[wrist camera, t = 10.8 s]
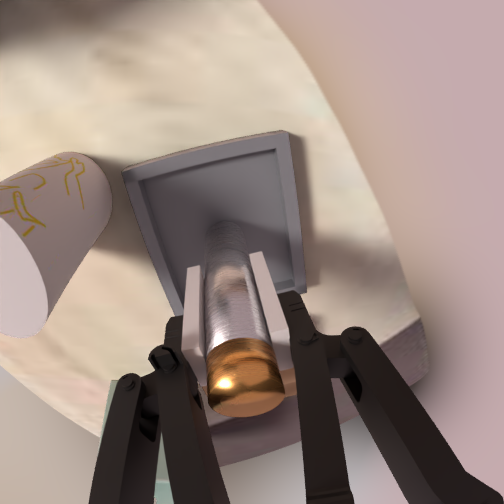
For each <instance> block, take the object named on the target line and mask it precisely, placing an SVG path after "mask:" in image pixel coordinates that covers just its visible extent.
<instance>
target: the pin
mask: <svg viewBox="0 0 504 504" xmlns="http://www.w3.org/2000/svg"><path fill="white" fill-rule="evenodd" d="M205 345H206V373H207V395H208V404H209V406H210V407H211V408H212V409H213V410H214V411H216V412H217V413H219V414H222V415H225V416H230V417H250V416H256V415H260V414H263V413H265V412H268V411H270V410H272V409H273V408H275V407H276V406H278V405H279V404H280V403H281V402H282V400H283V399H284V397H285V389H284V385H283V381H282V378H281V374H280V370H279V366H278V363H277V359H276V355H275V352H274V350H273V346H272V342H271V338H270V334H269V331H268V327H267V323H266V319H265V316H264V312H263V308H262V304H261V300H260V297H259V293H258V289H257V285H256V281H255V278H254V274H253V270H252V265H251V261H250V258H249V254H248V250H247V246H246V242H245V239H244V235H243V232H242V230H241V228H240V227H239V226H238V225H236V224H235V223H233V222H229V221H220V222H217V223H215V224H213V225H212V226H211V227H210V228H209V229H208V230H207V232H206V234H205Z"/></svg>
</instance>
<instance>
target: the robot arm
mask: <svg viewBox="0 0 504 504" xmlns="http://www.w3.org/2000/svg"><path fill="white" fill-rule="evenodd" d="M249 256H250V261H251V265H252V270H253V274H254V278H255V281H256V285H257V289H258V293H259V297H260V300H261V304H262V308H263V312H264V316H265V319H266V323H267V327H268V331H269V334H270V338H271V342H272V346H273V350H274V352H275V355H276V359H277V363H278V366H279V370H280V371H282V370H286V369H290V368H294V370H295V379H296V388H297V398H298V408H299V418H300V429H301V440H302V451H303V462H304V474H305V489H306V504H354V498H353V494H352V492H351V490H350V486H349V480H348V473H347V466H346V460H345V454H344V448H343V442H342V436H341V430H340V424H339V419H338V413H337V408H336V403H335V398H334V392H333V387H332V382H331V378H340V380H341V382H342V384H343V385H344V387H345V389H346V391H347V393H348V394H349V396H350V398H351V400H352V401H353V403H354V405H355V407H356V409H357V410H358V412H359V414H360V416H361V418H362V419H363V421H364V423H365V425H366V427H367V428H368V430H369V432H370V434H371V435H372V437H373V439H374V441H375V443H376V445H377V447H378V448H379V450H380V452H381V454H382V456H383V457H384V459H385V461H386V463H387V465H388V467H389V468H390V470H391V472H392V474H393V476H394V477H395V479H396V481H397V483H398V485H399V487H400V489H401V491H402V492H403V494H404V496H405V498H406V500H407V501H408V503H409V504H504V501H503V497H502V496H501V495H500V494H499V493H498V492H497V491H495V490H494V489H492V488H490V487H489V486H487V485H486V484H484V483H483V482H481V481H480V480H478V479H476V478H475V477H473V476H472V475H470V474H469V473H467V472H466V471H465V470H464V468H463V467H462V465H461V463H460V462H459V460H458V459H457V457H456V456H455V454H454V452H453V451H452V449H451V448H450V446H449V445H448V443H447V442H446V440H445V439H444V437H443V436H442V434H441V433H440V431H439V430H438V428H437V427H436V425H435V424H434V422H433V421H432V420H431V418H430V417H429V415H428V414H427V412H426V411H425V409H424V408H423V407H422V405H421V404H420V402H419V401H418V399H417V398H416V396H415V395H414V393H413V392H412V391H411V389H410V388H409V386H408V385H407V384H406V382H405V381H404V379H403V378H402V377H401V375H400V374H399V372H398V371H397V370H396V368H395V367H394V366H393V364H392V363H391V361H390V360H389V359H388V357H387V356H386V355H385V353H384V352H383V351H382V349H381V348H380V347H379V345H378V344H377V343H376V341H375V340H374V339H373V337H372V336H371V335H370V333H369V332H368V331H367V330H366V329H364V328H361V327H349V328H347V329H345V330H344V331H343V332H342V333H341V335H334V336H331V335H324V334H322V333H320V332H318V331H317V330H316V329H315V327H314V325H313V322H312V320H311V318H310V316H309V313H308V311H307V309H306V307H305V304H304V303H303V300H302V298H301V296H300V294H298V293H297V292H296V291H294V290H291V291H287V292H283V293H279V294H276V291H275V288H274V285H273V282H272V279H271V276H270V273H269V270H268V268H267V265H266V262H265V259H264V256H263V253H262V251H260V252H256V253H252V254H249ZM165 332H166V333H165V339H164V345H160V346H157V347H156V348H154V349H153V350H152V351H151V353H150V354H149V357H148V360H149V361H150V363H151V364H152V366H153V367H154V369H155V371H154V372H152V373H150V374H148V375H145V376H143V377H140V376H138V375H137V374H134V373H129V374H126V375H124V376H122V377H121V378H120V379H119V380H118V382H117V384H116V388H115V391H114V394H113V398H112V401H111V405H110V409H109V412H108V416H107V420H106V424H105V428H104V432H103V436H102V440H101V444H100V448H99V453H98V457H97V462H96V467H95V472H94V476H93V481H92V487H91V493H90V498H89V504H154V493H155V483H156V473H157V464H158V456H159V448H160V440H161V433H162V439H163V446H164V453H165V459H166V465H167V471H168V477H169V482H170V487H171V492H172V497H173V502H174V504H230V501H229V498H228V495H227V491H226V488H225V485H224V482H223V478H222V475H221V472H220V468H219V464H218V461H217V457H216V454H215V450H214V446H213V443H212V439H211V435H210V431H209V427H208V423H207V419H206V415H205V410H204V406H203V402H202V397H201V394H200V392H199V390H198V383H199V384H200V386H201V387H202V386H207V373H206V345H205V280H204V277H203V274H202V271H201V267H200V265H198V266H194V267H189V268H187V279H186V290H185V302H184V315H180V316H175V317H171V318H170V319H169V321H168V323H167V324H166V331H165ZM293 365H294V366H293Z"/></svg>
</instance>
